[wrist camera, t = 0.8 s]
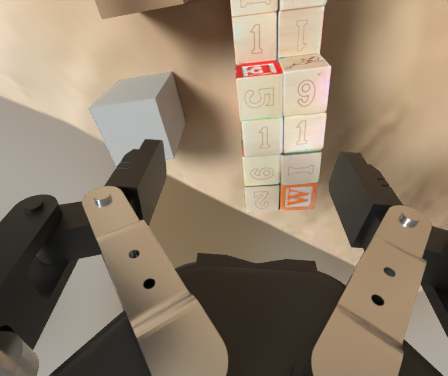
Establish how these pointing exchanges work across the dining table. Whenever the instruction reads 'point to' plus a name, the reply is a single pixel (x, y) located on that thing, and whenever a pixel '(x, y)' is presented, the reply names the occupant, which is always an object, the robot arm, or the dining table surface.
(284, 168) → the stack of blocks
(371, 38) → the dining table surface
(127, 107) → the grey rectangular block
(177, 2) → the brown wooden block
